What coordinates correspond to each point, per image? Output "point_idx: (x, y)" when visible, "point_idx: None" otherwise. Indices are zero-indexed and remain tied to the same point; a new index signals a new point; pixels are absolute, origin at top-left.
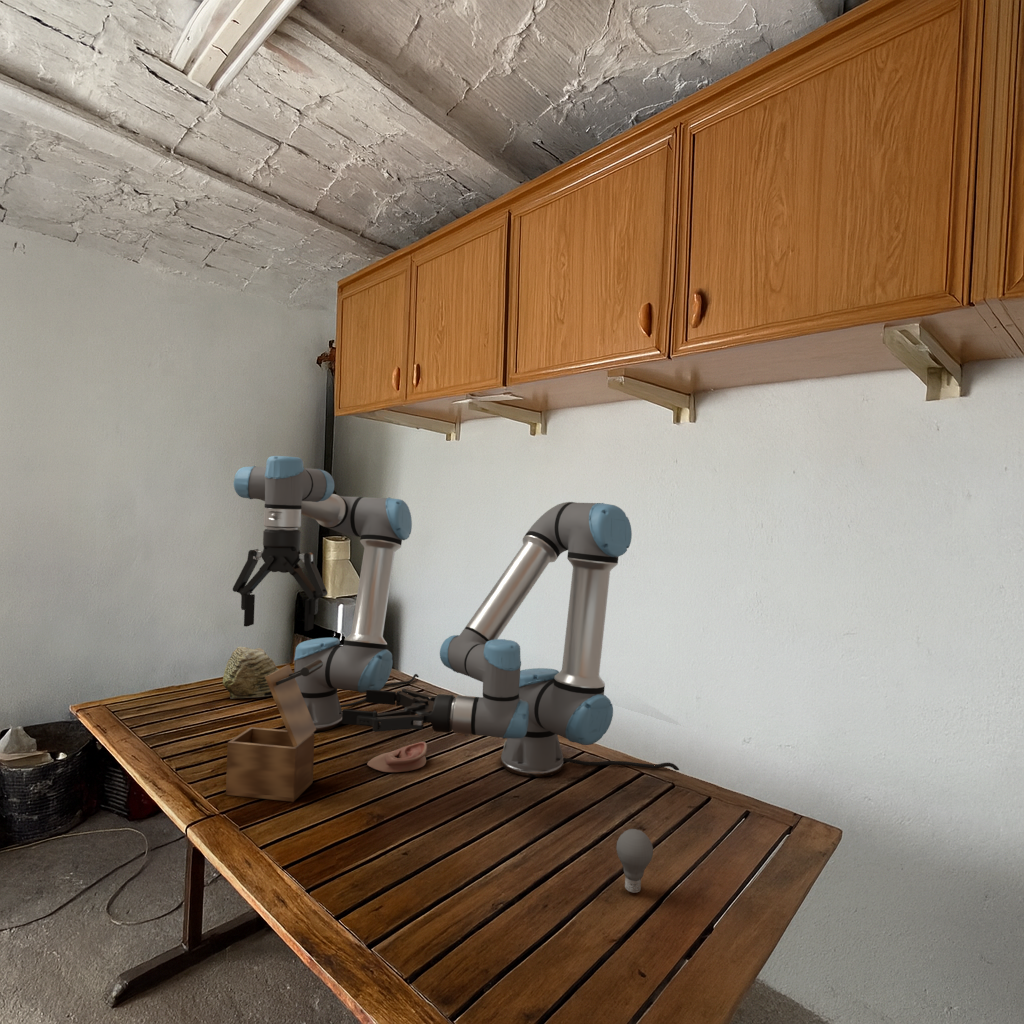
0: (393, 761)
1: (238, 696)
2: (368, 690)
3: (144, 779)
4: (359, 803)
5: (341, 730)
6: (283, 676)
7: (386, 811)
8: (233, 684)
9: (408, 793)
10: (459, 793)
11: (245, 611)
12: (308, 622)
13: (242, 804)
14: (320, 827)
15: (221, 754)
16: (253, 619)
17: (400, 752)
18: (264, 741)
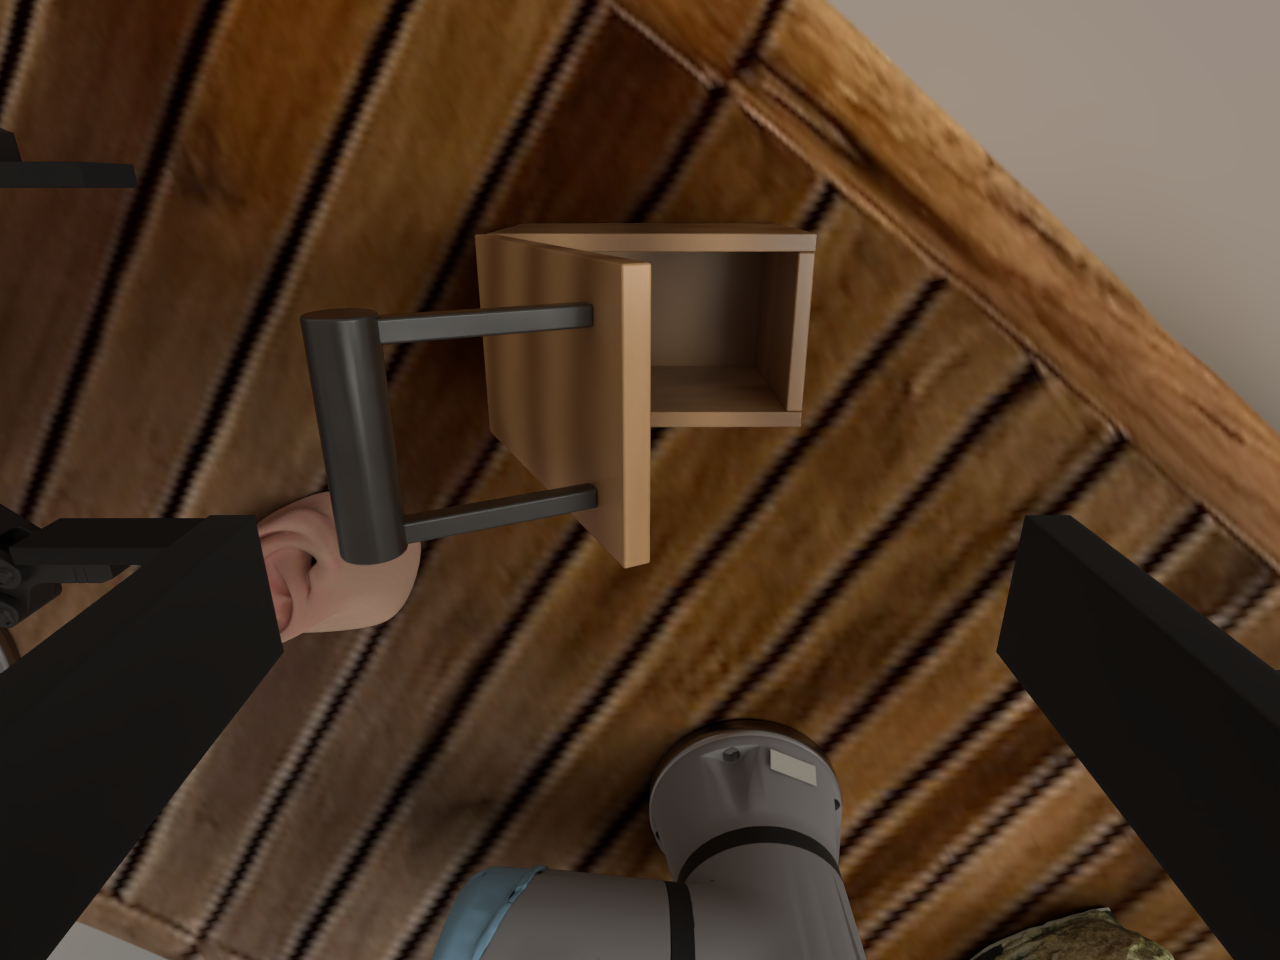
0: (292, 513)
1: (1084, 918)
2: (165, 548)
3: (1110, 273)
4: (305, 263)
5: (627, 757)
6: (599, 428)
7: (191, 227)
8: (1125, 946)
9: (188, 368)
10: (31, 404)
11: (1189, 619)
12: (145, 576)
13: (683, 167)
14: (342, 64)
15: (937, 510)
16: (1027, 680)
17: (309, 589)
18: (720, 398)
